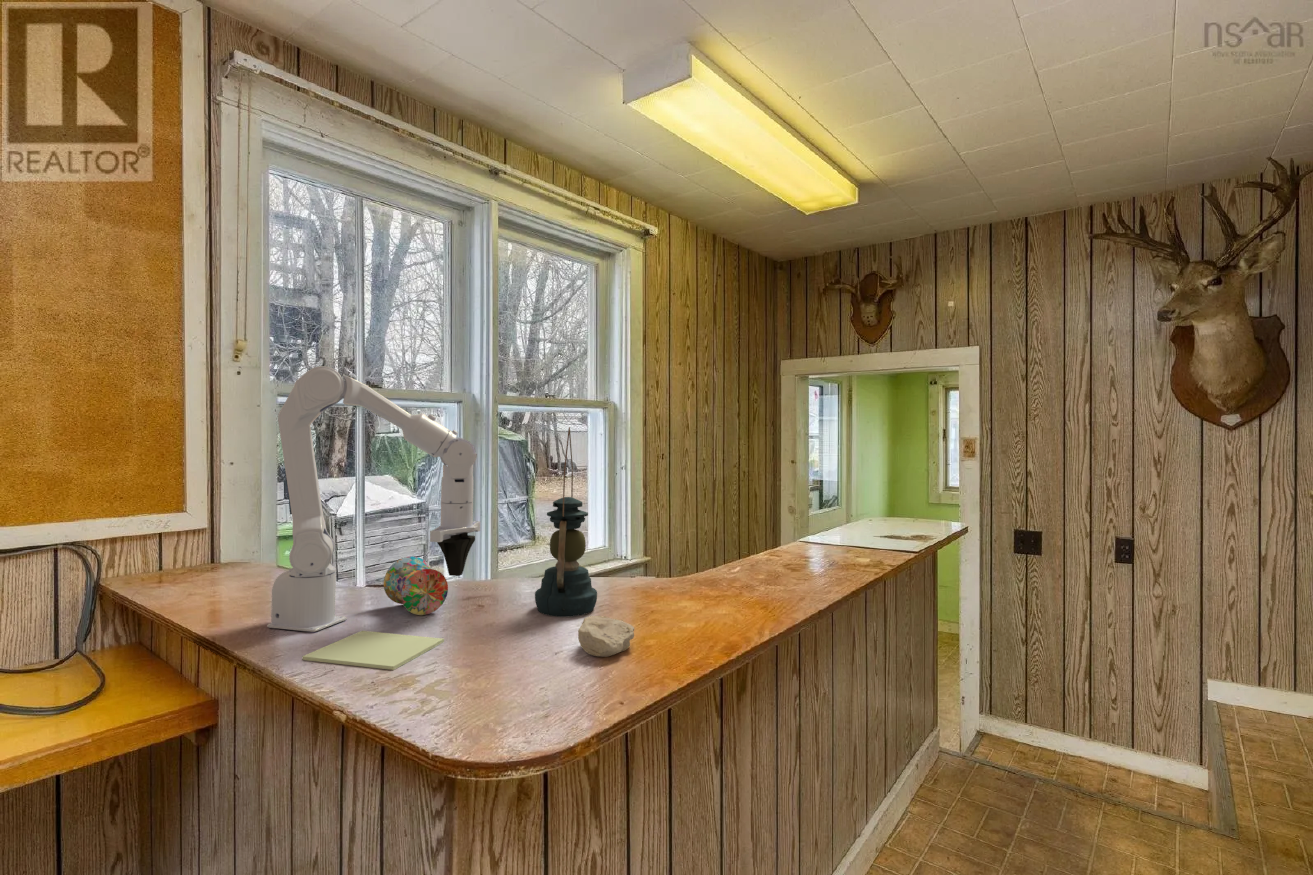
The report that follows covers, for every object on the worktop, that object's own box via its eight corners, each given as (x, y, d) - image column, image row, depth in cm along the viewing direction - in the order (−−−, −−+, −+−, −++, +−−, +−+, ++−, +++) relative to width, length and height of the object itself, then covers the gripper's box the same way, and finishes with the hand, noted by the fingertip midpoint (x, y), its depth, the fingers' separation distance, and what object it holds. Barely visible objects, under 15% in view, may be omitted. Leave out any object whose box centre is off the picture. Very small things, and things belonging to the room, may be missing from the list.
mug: (422, 558, 117) (403, 547, 125) (389, 604, 113) (372, 589, 122) (472, 589, 123) (451, 577, 131) (443, 634, 120) (423, 618, 128)
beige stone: (641, 623, 106) (629, 614, 97) (633, 664, 103) (621, 660, 94) (590, 614, 108) (574, 605, 98) (581, 655, 105) (564, 650, 96)
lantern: (592, 620, 117) (596, 427, 117) (527, 619, 117) (530, 425, 117) (600, 600, 131) (603, 428, 131) (542, 599, 131) (545, 427, 131)
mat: (302, 659, 94) (302, 656, 94) (362, 633, 107) (362, 630, 107) (393, 670, 91) (393, 666, 91) (444, 641, 103) (444, 638, 103)
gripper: (456, 507, 113) (454, 584, 113) (494, 499, 127) (493, 568, 127) (420, 505, 114) (418, 582, 114) (462, 498, 129) (460, 566, 129)
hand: (455, 575), depth 121 cm, fingers closed
